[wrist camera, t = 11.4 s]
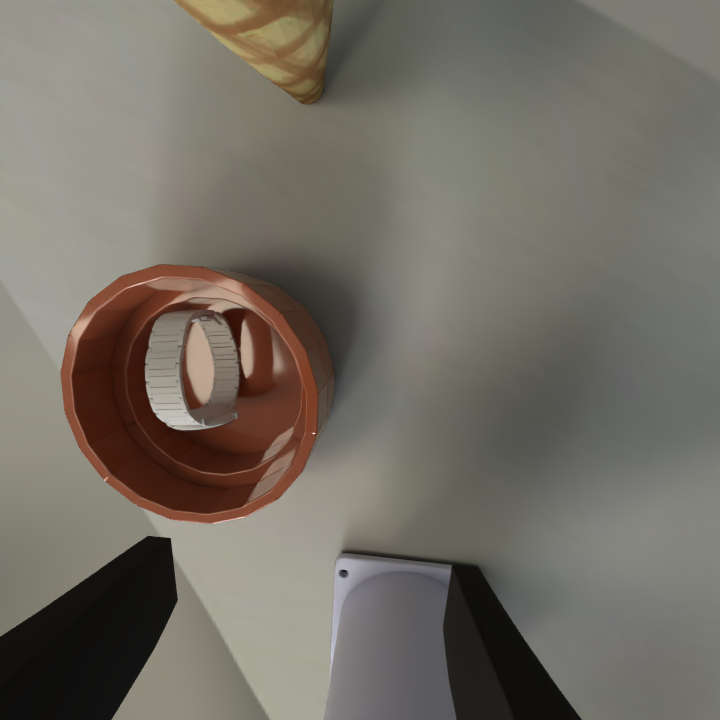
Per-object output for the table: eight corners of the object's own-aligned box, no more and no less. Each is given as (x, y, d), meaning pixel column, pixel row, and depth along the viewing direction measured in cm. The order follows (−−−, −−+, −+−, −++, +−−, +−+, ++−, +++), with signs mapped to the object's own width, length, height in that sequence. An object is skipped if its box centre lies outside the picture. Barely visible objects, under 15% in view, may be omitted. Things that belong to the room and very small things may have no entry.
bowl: (331, 479, 19) (313, 536, 14) (146, 461, 19) (74, 509, 15) (340, 279, 17) (323, 272, 12) (134, 268, 17) (47, 258, 13)
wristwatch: (207, 406, 18) (139, 447, 13) (194, 310, 17) (115, 315, 12) (261, 404, 18) (211, 446, 13) (250, 306, 17) (192, 310, 12)
